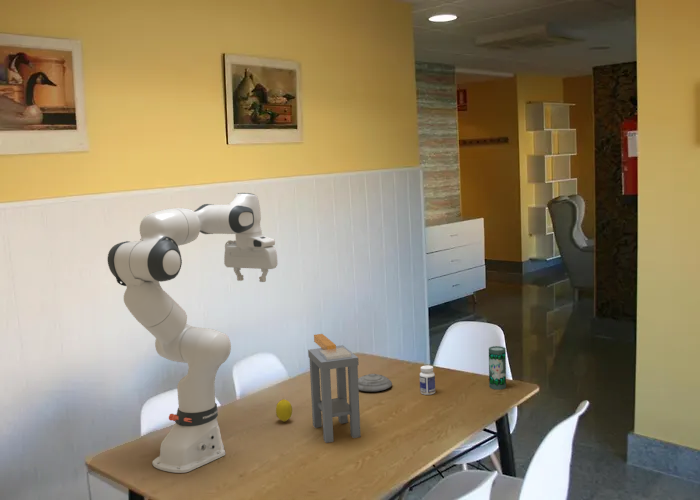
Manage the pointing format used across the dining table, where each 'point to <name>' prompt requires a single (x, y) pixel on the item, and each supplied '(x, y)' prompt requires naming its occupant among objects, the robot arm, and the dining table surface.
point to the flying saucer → (373, 383)
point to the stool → (337, 405)
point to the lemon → (284, 410)
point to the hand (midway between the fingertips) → (251, 281)
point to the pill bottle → (427, 380)
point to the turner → (330, 349)
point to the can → (497, 367)
